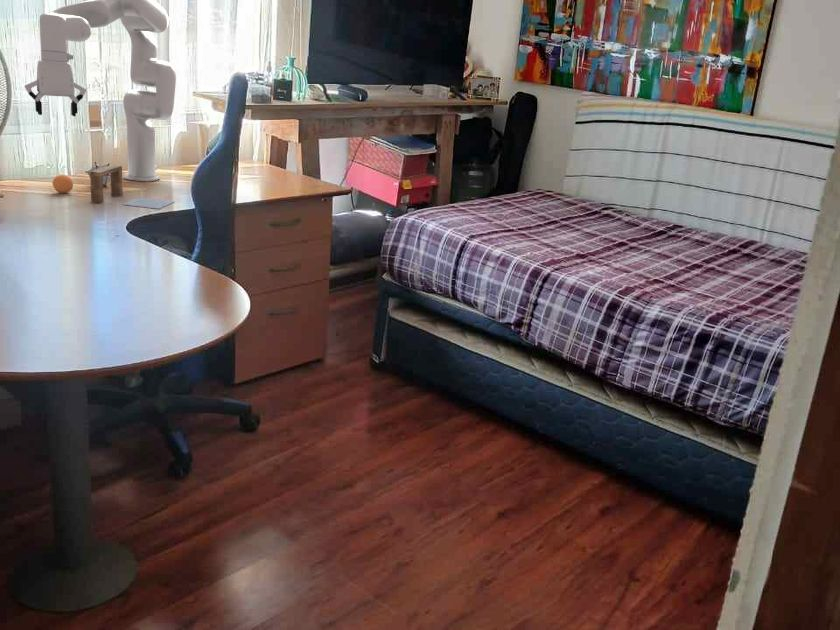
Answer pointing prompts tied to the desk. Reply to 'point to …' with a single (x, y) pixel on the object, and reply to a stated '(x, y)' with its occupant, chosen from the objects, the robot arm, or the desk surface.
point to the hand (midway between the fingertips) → (56, 115)
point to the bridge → (97, 182)
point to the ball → (62, 184)
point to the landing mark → (148, 203)
